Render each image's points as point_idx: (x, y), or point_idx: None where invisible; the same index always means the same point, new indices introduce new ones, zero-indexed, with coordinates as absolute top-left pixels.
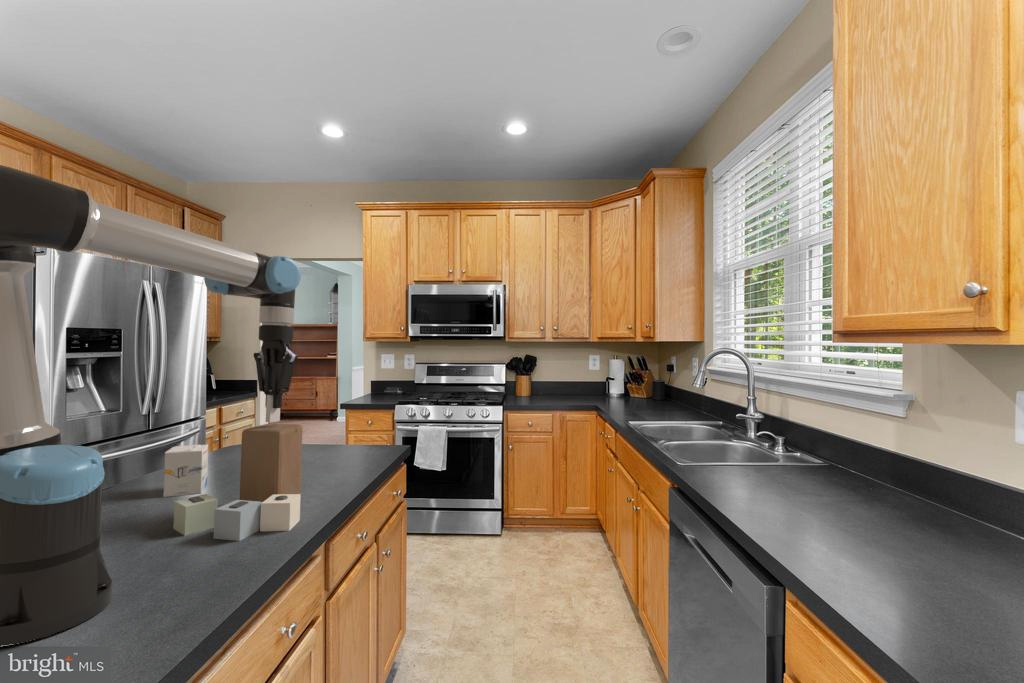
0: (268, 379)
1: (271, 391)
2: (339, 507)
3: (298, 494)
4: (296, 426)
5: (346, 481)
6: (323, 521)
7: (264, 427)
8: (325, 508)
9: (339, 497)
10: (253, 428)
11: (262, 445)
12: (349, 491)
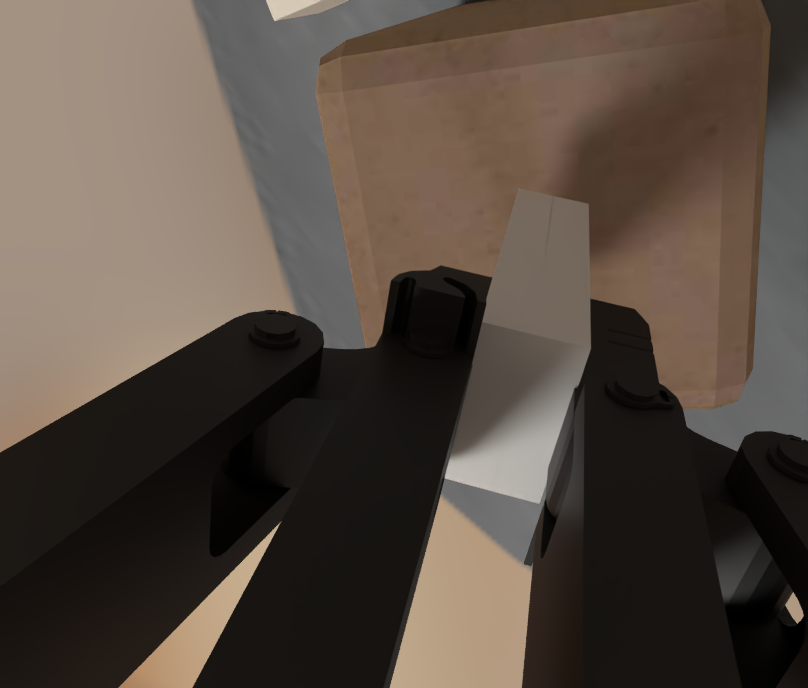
0: (581, 572)
1: (564, 458)
2: (271, 209)
3: (279, 10)
4: (371, 340)
5: (469, 517)
6: (214, 33)
7: (585, 170)
8: (318, 182)
9: (357, 323)
10: (659, 76)
11: (498, 11)
12: None
